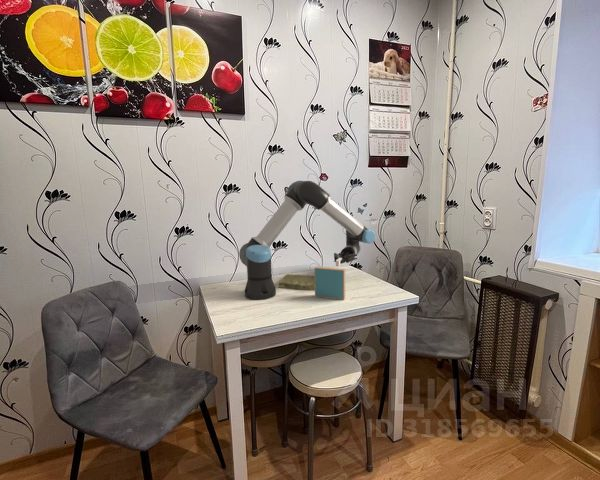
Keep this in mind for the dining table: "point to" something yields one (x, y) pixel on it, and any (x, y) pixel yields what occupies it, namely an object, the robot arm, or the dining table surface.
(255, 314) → the dining table surface
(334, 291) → the standing tile
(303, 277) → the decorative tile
